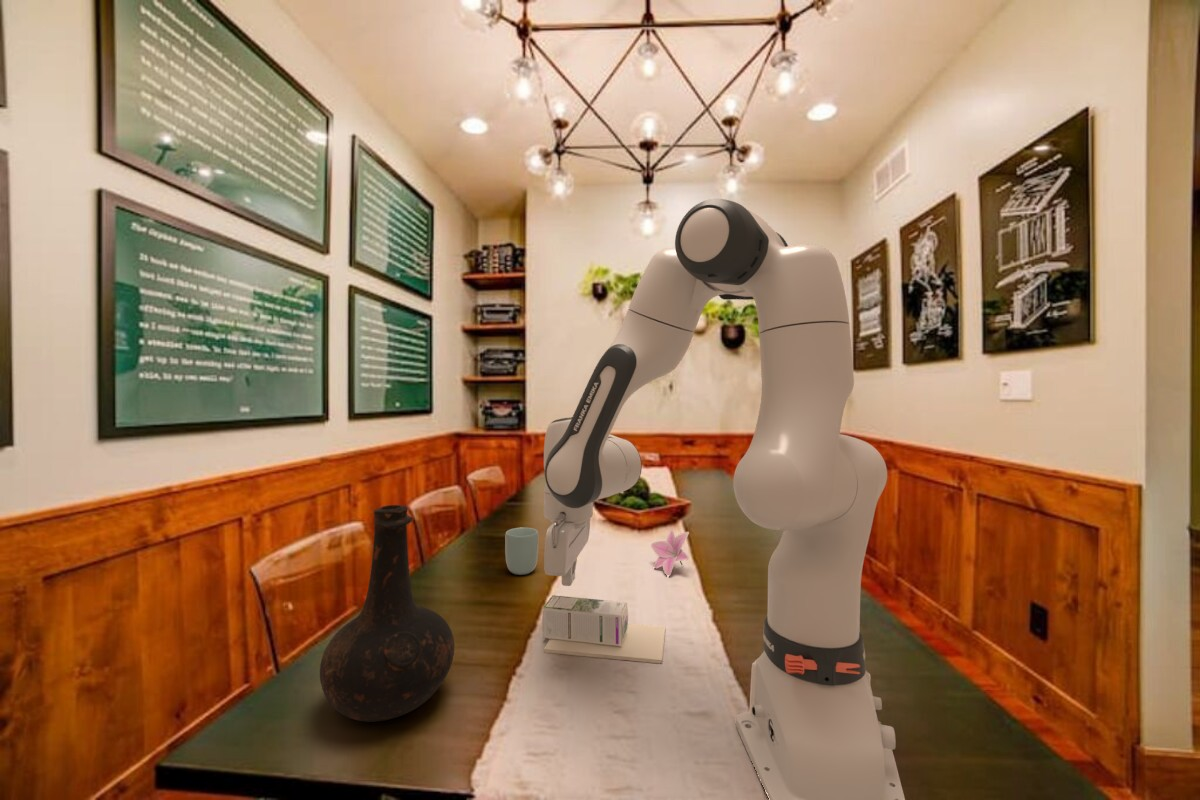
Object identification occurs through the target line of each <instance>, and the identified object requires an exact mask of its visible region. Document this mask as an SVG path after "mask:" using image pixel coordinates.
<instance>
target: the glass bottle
mask: <svg viewBox="0 0 1200 800" xmlns="http://www.w3.org/2000/svg"><path fill="white" fill-rule="evenodd" d="M373 514H374V518H373V522H374V523H373V525H374V530H373V531H374V533H373V547H372V559H371V566H370V567H371V569H370V575H369V576H370V577H369V582H368V586H367V587H368V588H367V592H366V595H365V596H366V597H365V600H364V604H363V607H362V609H361V611H360V613H359V615H358V616H356V617H355V618H353V619H351V620H350V621H348V622H347V623H346V624H345V625H343V626H342V628H340V629H339V630H338V631H337V632H336V633H335V634H334V635H333V637H332V638H331V639H330V640H329V642H328V644H327V645H326V647H325V649H324V651H323V654H322V657H321V661H320V664H319V680H320V685H321V689H322V692H323V695H324V697H325V698H326V700H327V702H328V703H329V704H330V706H331V707H332V708H333V709H335V710H336V711H337V712H338V713H340V715H342V716H344V717H346V718H348V719H351V720H355V721H359V722H370V723H371V722H373V723H374V722H384V721H385V722H386V721H388V720H392V719H395V718H396V719H397V718H398V717H401V716H404V715H406V714H408V713H411V712H412V711H414V710H416V709H417V708H419V707H420V706H422V705H423V704H425V703H426V702H427V701H428V700H429V699H430V698H431V697H432V696H433V695H434V694H435V693H436V692H437V690H438V689H439V688H440V686H441V685H442V684H443V683H444V681H445V679H446V677H447V676H448V673H449V672H450V669H451V667H452V665H453V664H452V663H453V659H454V656H455V639H454V635H453V632H452V629H451V627H450V625H449V624H448V622H447V620H446V619H444V618H443V617H442V616H441V615H440V614H438V613H437V612H435V610H432V609H430V608H428V607H423V606H419V605H417V603H416V602H415V599H414V596H413V595H414V594H413V591H412V585H411V584H412V583H411V577H410V575H411V574H410V566H409V564H410V563H409V549H408V533H407V532H408V529H407V527H408V525H409V524H410V523H411V522H413V520H414V518H413V517H412V516H410V515H407V514H408V506H406V505H401V504H389V505H384V506H381V507H378V508H376V509H374V510H373Z"/></svg>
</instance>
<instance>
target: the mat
mask: <svg viewBox="0 0 1200 800" xmlns="http://www.w3.org/2000/svg"><path fill="white" fill-rule="evenodd" d="M665 637H666V626H663V625H652V624H651V625H650V624H649V625H648V624H640V623H639V624H638V623H628V627H627V632H626V635H625V638H624V641H623V644H622V646H613V645H604V644H595V643H585V642H576V641H567V640H558V639H549V638H548V641H547V643H546V645H545V647H544V648H543V652H544V653H545V654H546V653H547V654H548V653H549V654H555V655H556V654H558V655H567V656H578V657H588V658H600V659H608V660H609V659H610V660H621V661H631V662H638V663H639V662H643V663H653V664H660V663H661V664H663V658H664V657H663V656H664V646H665ZM661 664H660V665H661Z"/></svg>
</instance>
